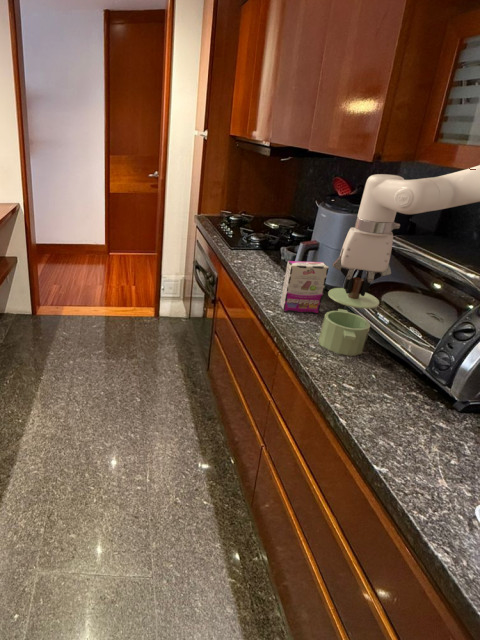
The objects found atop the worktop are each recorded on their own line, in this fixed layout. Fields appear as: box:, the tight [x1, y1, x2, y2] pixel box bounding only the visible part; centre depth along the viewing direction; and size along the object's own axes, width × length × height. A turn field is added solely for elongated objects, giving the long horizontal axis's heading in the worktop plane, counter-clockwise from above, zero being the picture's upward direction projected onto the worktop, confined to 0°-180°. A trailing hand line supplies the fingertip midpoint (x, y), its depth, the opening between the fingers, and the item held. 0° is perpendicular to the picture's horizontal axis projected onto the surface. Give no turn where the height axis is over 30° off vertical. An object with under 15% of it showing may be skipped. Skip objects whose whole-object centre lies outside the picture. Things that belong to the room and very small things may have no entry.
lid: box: [327, 276, 380, 310], centre depth 102 cm, size 12×12×6 cm
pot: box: [318, 308, 372, 356], centre depth 107 cm, size 11×16×8 cm, turn 156°
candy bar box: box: [279, 260, 329, 314], centre depth 127 cm, size 11×5×16 cm, turn 81°
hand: (354, 292), depth 103 cm, fingers closed on lid, 2 cm apart
